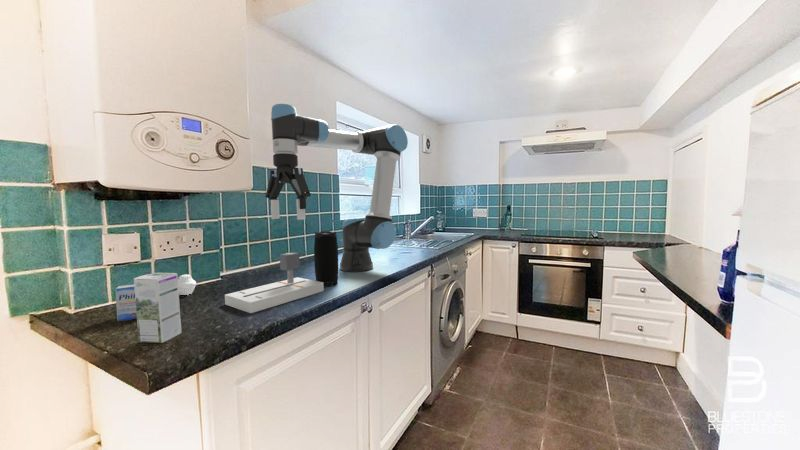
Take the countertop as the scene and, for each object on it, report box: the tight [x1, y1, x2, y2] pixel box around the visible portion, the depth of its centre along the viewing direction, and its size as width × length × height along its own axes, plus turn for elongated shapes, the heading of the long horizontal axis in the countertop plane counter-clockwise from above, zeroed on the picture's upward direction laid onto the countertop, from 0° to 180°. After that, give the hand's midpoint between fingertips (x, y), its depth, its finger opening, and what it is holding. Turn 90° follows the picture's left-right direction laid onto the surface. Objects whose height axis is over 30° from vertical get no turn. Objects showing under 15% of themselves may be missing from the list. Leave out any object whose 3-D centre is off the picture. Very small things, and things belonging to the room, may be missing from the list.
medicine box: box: [114, 283, 137, 322], centre depth 84 cm, size 8×4×9 cm, turn 123°
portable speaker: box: [313, 230, 339, 288], centre depth 115 cm, size 9×9×20 cm
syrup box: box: [133, 272, 182, 344], centre depth 69 cm, size 6×6×14 cm
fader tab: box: [279, 251, 301, 284], centre depth 103 cm, size 5×4×10 cm
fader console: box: [224, 276, 325, 314], centre depth 100 cm, size 26×14×3 cm, turn 145°
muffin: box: [178, 273, 197, 296], centre depth 104 cm, size 6×6×7 cm
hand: (288, 219), depth 103 cm, fingers open, 13 cm apart
